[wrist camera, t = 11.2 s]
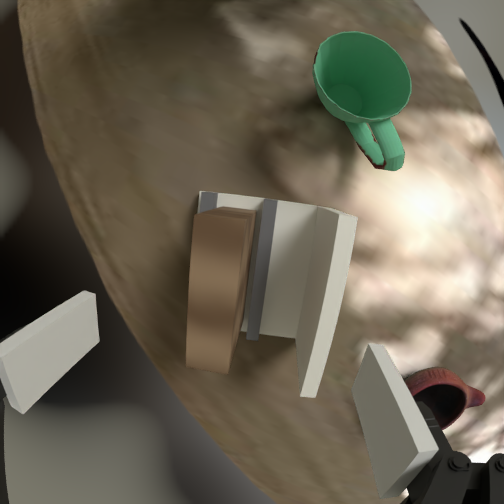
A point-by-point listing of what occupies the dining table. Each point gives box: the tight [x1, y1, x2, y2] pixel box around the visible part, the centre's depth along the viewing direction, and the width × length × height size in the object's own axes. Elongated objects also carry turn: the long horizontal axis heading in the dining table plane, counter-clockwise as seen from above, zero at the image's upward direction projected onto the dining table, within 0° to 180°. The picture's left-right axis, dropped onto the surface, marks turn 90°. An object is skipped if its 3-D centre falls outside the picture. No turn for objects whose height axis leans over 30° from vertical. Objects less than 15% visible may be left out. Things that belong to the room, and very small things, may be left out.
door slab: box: [186, 206, 257, 375], centre depth 30 cm, size 14×4×12 cm, turn 173°
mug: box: [313, 31, 412, 171], centre depth 27 cm, size 15×10×10 cm
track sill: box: [197, 191, 358, 398], centre depth 30 cm, size 17×16×13 cm
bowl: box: [404, 367, 485, 430], centre depth 34 cm, size 16×13×8 cm
